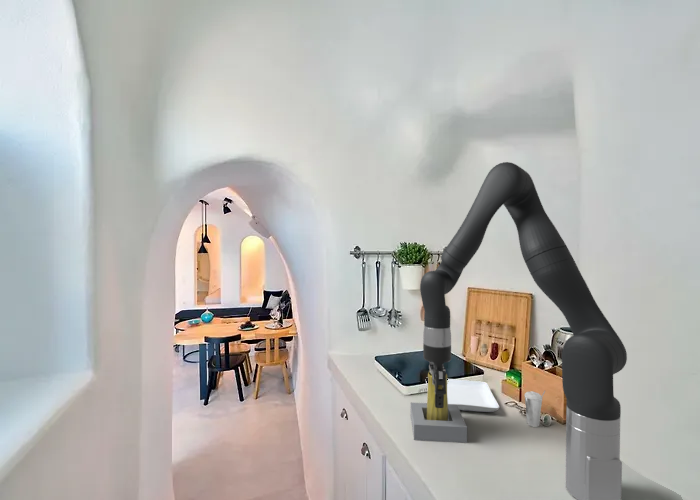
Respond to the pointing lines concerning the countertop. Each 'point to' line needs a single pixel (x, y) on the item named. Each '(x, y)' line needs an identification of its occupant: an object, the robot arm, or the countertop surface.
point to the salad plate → (470, 395)
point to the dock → (438, 425)
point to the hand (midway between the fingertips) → (437, 400)
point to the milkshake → (533, 408)
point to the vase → (432, 411)
